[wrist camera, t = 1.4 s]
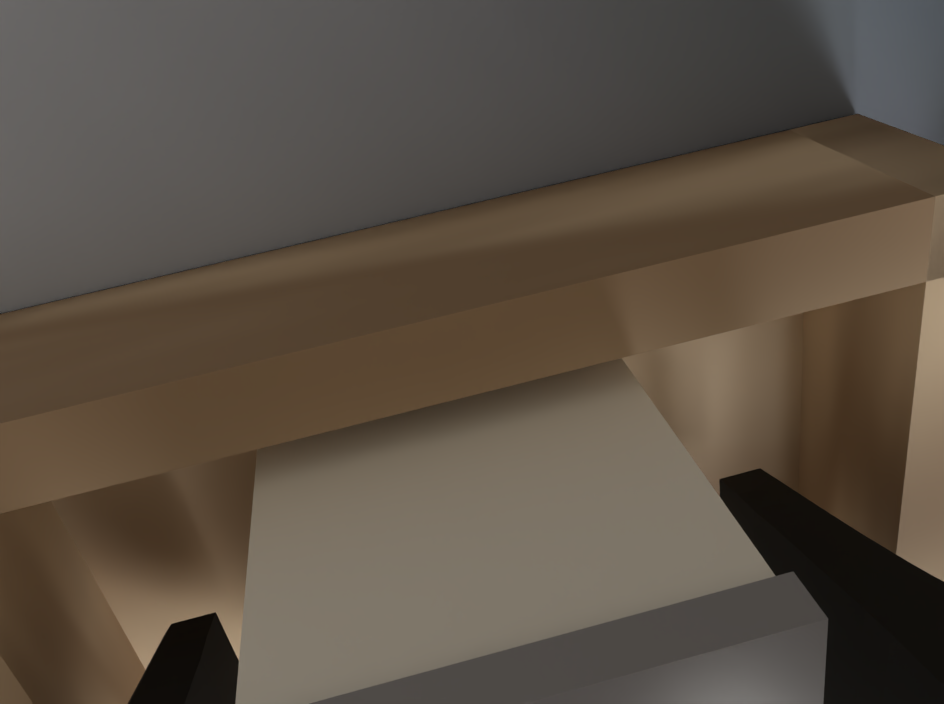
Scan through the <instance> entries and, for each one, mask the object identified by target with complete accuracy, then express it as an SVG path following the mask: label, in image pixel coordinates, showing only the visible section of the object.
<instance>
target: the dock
mask: <svg viewBox="0 0 944 704" xmlns="http://www.w3.org/2000/svg"><path fill="white" fill-rule="evenodd" d="M620 358H622V359H623V361H624V362H625V364H626V365H627V367H628V368H629V369H630V371H631V372H632V374H633V375H634V376H635V378H636V379H637V381H638V382H639V383H640V385H641V386H642V388H643V389H644V391H645V392H646V393H647V395H648V396H649V398H650V399H651V400H652V402H653V403H654V405H655V406H656V407H657V409H658V410H659V412H660V413H661V415H662V416H663V417H664V419H665V420H666V422H667V423H668V424H669V426H670V427H671V429H672V430H673V432H674V433H675V434H676V436H677V437H678V439H679V440H680V441H681V443H682V444H683V446H684V447H685V448H686V450H687V451H688V453H689V454H690V456H691V457H692V458H693V460H694V461H695V463H696V464H697V465H698V467H699V468H700V470H701V471H702V473H703V474H704V475H705V477H706V478H707V480H708V481H709V482H710V484H711V485H712V487H713V488H714V489H715V491H716V492H717V494H718V495H719V497H720V483H719V479H721V478H725V477H729V476H733V475H736V474H740V473H744V472H748V471H751V470H755V469H759V468H761V469H762V470H764V471H765V472H767V473H768V474H770V475H771V476H773V477H775V478H776V479H778V480H779V481H781V482H782V483H784V484H785V485H787V486H789V487H790V488H792V489H793V490H795V491H796V492H798V493H799V494H801V495H802V496H804V497H805V498H807V499H808V500H810V501H812V502H813V503H815V504H816V505H818V506H819V507H821V508H822V509H824V510H825V511H827V512H829V513H830V514H832V515H833V516H835V517H836V518H838V519H839V520H841V521H843V522H844V523H846V524H847V525H849V526H850V527H852V528H854V529H855V530H857V531H858V532H860V533H862V534H863V535H865V536H866V537H868V538H870V539H871V540H873V541H875V542H876V543H878V544H880V545H881V546H883V547H885V548H886V549H888V550H890V551H891V552H893V553H895V554H896V555H898V556H900V557H901V558H903V559H905V560H906V561H908V562H910V563H911V564H913V565H915V566H917V567H918V568H920V569H922V570H924V571H925V572H927V573H929V574H931V575H932V576H934V577H936V578H938V579H940V580H942V581H944V145H941V144H938V143H935V142H933V141H930V140H927V139H925V138H922V137H919V136H916V135H914V134H911V133H908V132H906V131H903V130H900V129H898V128H895V127H892V126H889V125H887V124H884V123H881V122H879V121H876V120H873V119H870V118H868V117H865V116H862V115H860V114H855V115H851V116H846V117H842V118H838V119H833V120H829V121H825V122H821V123H816V124H812V125H808V126H803V127H799V128H795V129H791V130H786V131H782V132H778V133H773V134H769V135H765V136H761V137H756V138H752V139H748V140H743V141H739V142H735V143H731V144H726V145H722V146H718V147H714V148H709V149H705V150H701V151H696V152H692V153H688V154H684V155H679V156H675V157H671V158H666V159H662V160H658V161H654V162H649V163H645V164H641V165H636V166H632V167H628V168H624V169H619V170H615V171H611V172H606V173H602V174H598V175H594V176H589V177H585V178H581V179H577V180H572V181H568V182H564V183H559V184H555V185H551V186H547V187H542V188H538V189H534V190H529V191H525V192H521V193H517V194H512V195H508V196H504V197H499V198H495V199H491V200H487V201H482V202H478V203H474V204H469V205H465V206H461V207H457V208H452V209H448V210H444V211H440V212H435V213H431V214H427V215H422V216H418V217H414V218H410V219H405V220H401V221H397V222H392V223H388V224H384V225H380V226H375V227H371V228H367V229H362V230H358V231H354V232H350V233H345V234H341V235H337V236H332V237H328V238H324V239H320V240H315V241H311V242H307V243H302V244H298V245H294V246H290V247H285V248H281V249H277V250H273V251H268V252H264V253H260V254H255V255H251V256H247V257H243V258H238V259H234V260H230V261H225V262H221V263H217V264H213V265H208V266H204V267H200V268H195V269H191V270H187V271H183V272H178V273H174V274H170V275H165V276H161V277H157V278H153V279H148V280H144V281H140V282H136V283H131V284H127V285H123V286H118V287H114V288H110V289H106V290H101V291H97V292H93V293H88V294H84V295H80V296H76V297H71V298H67V299H63V300H58V301H54V302H50V303H46V304H41V305H37V306H33V307H28V308H24V309H20V310H16V311H11V312H7V313H3V314H0V704H128V702H129V700H130V698H131V696H132V695H133V693H134V691H135V689H136V687H137V685H138V683H139V681H140V680H141V678H142V676H143V674H144V672H145V670H146V668H147V666H148V665H149V663H150V661H151V659H152V657H153V655H154V653H155V651H156V649H157V648H158V646H159V644H160V642H161V640H162V638H163V636H164V635H165V633H166V631H167V630H168V628H169V627H170V625H171V624H173V623H177V622H180V621H184V620H188V619H192V618H195V617H199V616H203V615H207V614H211V613H214V612H216V614H217V616H218V618H219V620H220V622H221V624H222V626H223V629H224V631H225V633H226V635H227V637H228V639H229V641H230V643H231V645H232V648H233V650H234V652H235V654H236V656H237V658H238V660H239V655H240V643H241V632H242V620H243V608H244V597H245V585H246V574H247V562H248V550H249V539H250V527H251V516H252V504H253V492H254V481H255V469H256V458H257V449H260V448H264V447H268V446H272V445H276V444H280V443H284V442H288V441H292V440H296V439H300V438H304V437H308V436H312V435H316V434H320V433H324V432H328V431H332V430H336V429H340V428H344V427H348V426H352V425H356V424H360V423H364V422H368V421H372V420H376V419H380V418H384V417H388V416H392V415H396V414H400V413H404V412H408V411H412V410H416V409H420V408H424V407H428V406H432V405H436V404H440V403H444V402H448V401H452V400H456V399H460V398H464V397H468V396H472V395H476V394H480V393H484V392H488V391H492V390H496V389H500V388H504V387H508V386H512V385H516V384H520V383H524V382H528V381H532V380H536V379H540V378H544V377H548V376H552V375H556V374H560V373H564V372H568V371H572V370H576V369H580V368H584V367H588V366H592V365H596V364H600V363H604V362H608V361H612V360H616V359H620Z"/></svg>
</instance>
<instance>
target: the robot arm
mask: <svg viewBox="0 0 944 704" xmlns="http://www.w3.org/2000/svg"><path fill="white" fill-rule="evenodd" d="M719 483H720V498H721V499H722V501H723V502H724V504H725V505H726V506H727V508H728V509H729V511H730V512H731V513H732V515H733V516H734V518H735V519H736V521H737V522H738V523H739V525H740V526H741V528H742V529H743V530H744V532H745V533H746V535H747V536H748V538H749V539H750V540H751V542H752V543H753V545H754V546H755V547H756V549H757V550H758V552H759V553H760V554H761V556H762V557H763V559H764V560H765V562H766V563H767V564H768V566H769V567H770V569H771V570H772V571H773V573H774V574H775V576H778V575H782V574H785V573H789V572H794V573H795V574H796V576H797V577H798V578H799V580H800V581H801V583H802V584H803V585H804V587H805V588H806V589H807V591H808V592H809V593H810V595H811V596H812V597H813V599H814V600H815V601H816V603H817V604H818V606H819V607H820V608H821V610H822V611H823V612H824V614H825V615H826V616H827V618H828V632H827V650H826V667H825V684H824V702H823V704H944V581H942V580H940V579H938V578H936V577H934V576H932V575H931V574H929V573H927V572H925V571H924V570H922V569H920V568H918V567H917V566H915V565H913V564H911V563H910V562H908V561H906V560H905V559H903V558H901V557H900V556H898V555H896V554H895V553H893V552H891V551H890V550H888V549H886V548H885V547H883V546H881V545H880V544H878V543H876V542H875V541H873V540H871V539H870V538H868V537H866V536H865V535H863V534H862V533H860V532H858V531H857V530H855V529H854V528H852V527H850V526H849V525H847V524H846V523H844V522H843V521H841V520H839V519H838V518H836V517H835V516H833V515H832V514H830V513H829V512H827V511H825V510H824V509H822V508H821V507H819V506H818V505H816V504H815V503H813V502H812V501H810V500H808V499H807V498H805V497H804V496H802V495H801V494H799V493H798V492H796V491H795V490H793V489H792V488H790V487H789V486H787V485H785V484H784V483H782V482H781V481H779V480H778V479H776V478H775V477H773V476H771V475H770V474H768V473H767V472H765V471H764V470H762V469H761V468H759V469H755V470H751V471H748V472H744V473H740V474H736V475H733V476H729V477H725V478H721V479H719ZM238 667H239V660H238V658H237V656H236V654H235V652H234V650H233V648H232V645H231V643H230V641H229V639H228V637H227V635H226V633H225V631H224V629H223V626H222V624H221V622H220V620H219V618H218V616H217V614H216V612H214V613H211V614H207V615H203V616H199V617H195V618H192V619H188V620H184V621H180V622H177V623H173V624H171V625H170V627H169V628H168V630H167V631H166V633H165V635H164V636H163V638H162V640H161V642H160V644H159V646H158V648H157V649H156V651H155V653H154V655H153V657H152V659H151V661H150V663H149V665H148V666H147V668H146V670H145V672H144V674H143V676H142V678H141V680H140V681H139V683H138V685H137V687H136V689H135V691H134V693H133V695H132V696H131V698H130V700H129V702H128V704H235V701H236V690H237V678H238Z"/></svg>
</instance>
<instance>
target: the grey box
mask: <svg viewBox="0 0 944 704" xmlns="http://www.w3.org/2000/svg"><path fill="white" fill-rule="evenodd" d="M827 632H828V618H827V616H826V615H825V614H824V612H823V611H822V610H821V608H820V607H819V606H818V604H817V603H816V601H815V600H814V599H813V597H812V596H811V595H810V593H809V592H808V591H807V589H806V588H805V587H804V585H803V584H802V583H801V581H800V580H799V578H798V577H797V576H796V574H795V573H794V572H789V573H785V574H782V575H778V576H775V574H774V573H773V571H772V570H771V569H770V567H769V566H768V564H767V563H766V562H765V560H764V559H763V557H762V556H761V554H760V553H759V552H758V550H757V549H756V547H755V546H754V545H753V543H752V542H751V540H750V539H749V538H748V536H747V535H746V533H745V532H744V530H743V529H742V528H741V526H740V525H739V523H738V522H737V521H736V519H735V518H734V516H733V515H732V513H731V512H730V511H729V509H728V508H727V506H726V505H725V504H724V502H723V501H722V499H721V498H720V497H719V495H718V494H717V492H716V491H715V489H714V488H713V487H712V485H711V484H710V482H709V481H708V480H707V478H706V477H705V475H704V474H703V473H702V471H701V470H700V468H699V467H698V465H697V464H696V463H695V461H694V460H693V458H692V457H691V456H690V454H689V453H688V451H687V450H686V448H685V447H684V446H683V444H682V443H681V441H680V440H679V439H678V437H677V436H676V434H675V433H674V432H673V430H672V429H671V427H670V426H669V424H668V423H667V422H666V420H665V419H664V417H663V416H662V415H661V413H660V412H659V410H658V409H657V407H656V406H655V405H654V403H653V402H652V400H651V399H650V398H649V396H648V395H647V393H646V392H645V391H644V389H643V388H642V386H641V385H640V383H639V382H638V381H637V379H636V378H635V376H634V375H633V374H632V372H631V371H630V369H629V368H628V367H627V365H626V364H625V362H624V361H623V359H622V358H620V359H616V360H612V361H608V362H604V363H600V364H596V365H592V366H588V367H584V368H580V369H576V370H572V371H568V372H564V373H560V374H556V375H552V376H548V377H544V378H540V379H536V380H532V381H528V382H524V383H520V384H516V385H512V386H508V387H504V388H500V389H496V390H492V391H488V392H484V393H480V394H476V395H472V396H468V397H464V398H460V399H456V400H452V401H448V402H444V403H440V404H436V405H432V406H428V407H424V408H420V409H416V410H412V411H408V412H404V413H400V414H396V415H392V416H388V417H384V418H380V419H376V420H372V421H368V422H364V423H360V424H356V425H352V426H348V427H344V428H340V429H336V430H332V431H328V432H324V433H320V434H316V435H312V436H308V437H304V438H300V439H296V440H292V441H288V442H284V443H280V444H276V445H272V446H268V447H264V448H260V449H257V458H256V469H255V481H254V492H253V504H252V516H251V527H250V539H249V550H248V562H247V574H246V585H245V597H244V608H243V620H242V632H241V643H240V655H239V667H238V678H237V690H236V701H235V704H823V702H824V684H825V667H826V650H827Z"/></svg>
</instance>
